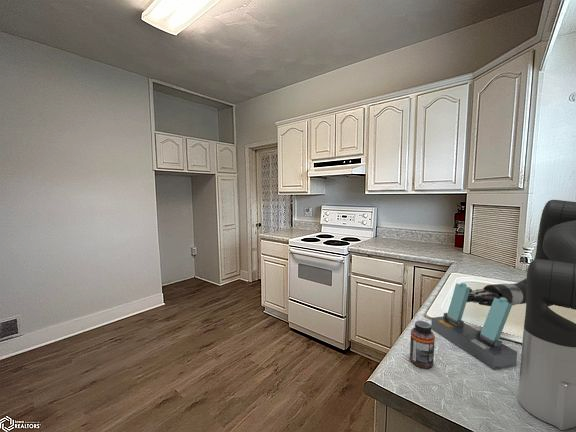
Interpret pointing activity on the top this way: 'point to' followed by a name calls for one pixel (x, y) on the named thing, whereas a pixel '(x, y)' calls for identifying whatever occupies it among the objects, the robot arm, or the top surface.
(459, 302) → the outer lever
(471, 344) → the switch box
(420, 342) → the supplement bottle
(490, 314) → the inner lever
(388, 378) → the top surface
